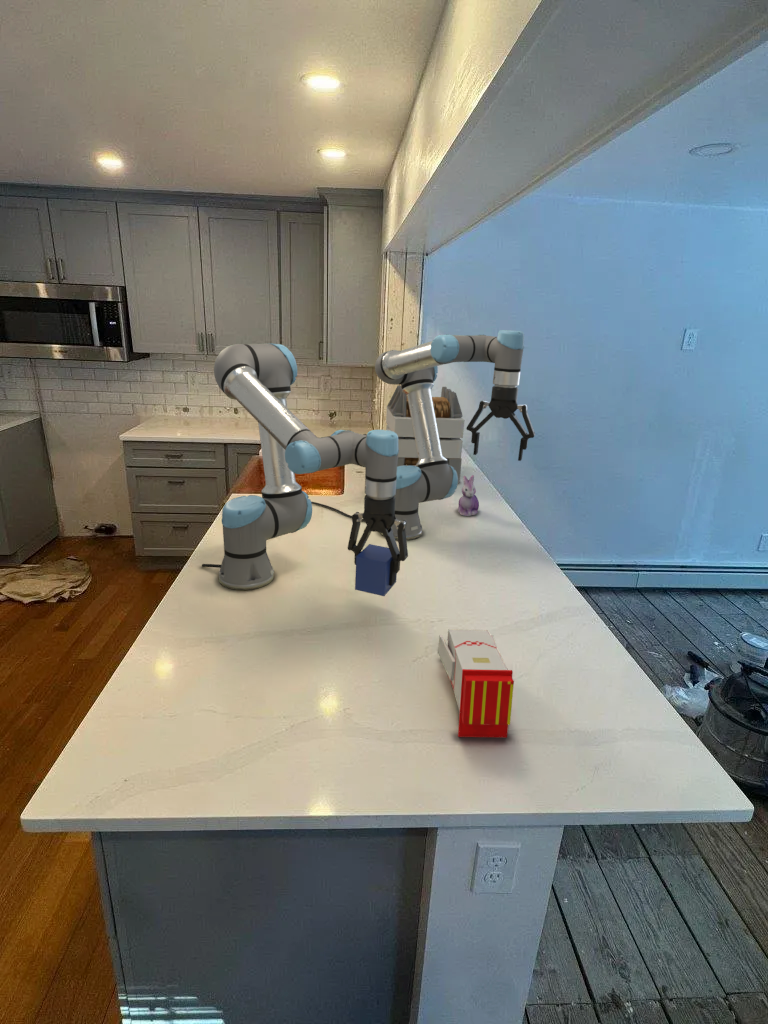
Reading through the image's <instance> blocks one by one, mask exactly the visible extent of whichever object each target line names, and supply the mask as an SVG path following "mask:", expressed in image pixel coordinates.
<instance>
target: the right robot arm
mask: <svg viewBox="0 0 768 1024" xmlns="http://www.w3.org/2000/svg"><path fill="white" fill-rule="evenodd" d="M524 349H525V333H524V332H523V331H522V330H509V329H507V330H506V329H500V330H499V331H498V332H497V336H492V335H486V334H473V335H470V334H467V335H465V334H464V335H462V334H461V335H459V334H449V333H448V334H440V335H436V336H435V337H434V338H433V339H432V341H428V342H424V343H421V344H418V345H415V346H412V347H408V348H404V349H401V350H397V349H391V350H388V351H384V352H382V353H380V355H378V356H377V358H376V360H375V363H374V371H375V374H376V376H377V377H378V379H380V380H381V381H382V382H383V383H385V384H388V385H397V386H398V385H400V386H401V388H402V392H403V393H405V394H406V395H407V398H408V403H409V409H410V414H411V420H412V425H413V431H414V436H415V442H416V447H417V453H418V459H419V461H418V463H417V464H416V466H412V465H408V466H407V465H403V466H398V467H397V478H396V479H397V481H396V494H395V495H394V496H395V498H396V499H395V517H396V519H398V520H401V521H403V520H406V521H407V524H406V528H405V532H406V541H410V540H415V539H418V538H420V537H421V536H422V535H423V525H422V524H421V518H420V515H419V507H420V506H419V505H420V503H426V502H432V501H433V502H434V501H441V500H444V499H448V498H450V497H452V496H453V495H454V494H455V492H456V491H457V488H458V484H459V483H458V476H457V472H456V470H454V468H453V467H452V466H450V465H448V460H447V459H446V458H444V457H443V456H442V451H441V446H440V440H439V435H438V429H437V424H436V418H435V413H434V407H433V402H432V397H433V396H432V391H431V390H432V389H433V387H434V385H435V384H434V383H435V381H436V379H437V377H438V373H439V367H438V366H442V365H448V364H452V363H478V362H479V363H491V364H494V367H493V378H492V384H493V386H492V388H491V395H490V401H486V400H485V399H482V400H481V401H479V405H478V408H477V410H476V412H475V413H474V415H473V417H472V418H471V420H470V422H469V423H468V424H467V426H466V428H465V429H466V430H467V431H469V432H471V441H470V442H471V444H473V453H472V454H473V456H477V455H478V452H479V445H480V444H479V443H480V436H481V435H480V433H481V432H478V431H479V430H480V429H481V428H482V427H484V425H485V424H486V423H488V421H490V420H491V419H492V418H493V417H495V418H496V419H500V418H501V419H505V420H507V419H510V421H511V422H512V423H513V425H514V427H516V429H517V431H518V432H519V434H520V436H522V437H521V438H520V442H519V450H518V458H517V461H519V462H521V461H522V460H523V453H524V451H525V450H527V448H528V445H529V439H534V437H535V436H536V433H535V429H534V427H533V423H532V421H531V418H530V415H529V413H528V404H526V403H524V404H518V397H519V388H518V386H520V380H521V379H520V378H521V369H522V361H523V356H524V355H523V354H524ZM486 408H489V409H490V412H489V413H488V414H486V416H485V417H484V418H483V419H482V420H481V421H480V422H479V423H478V424H477V425H476V426H474V425H475V424H476V423H477V421H478V419H479V417H480V416H481V415H482V413H483V411H484V409H486ZM517 410H518V411H519V412H520V413H521V415H522V418H523V421H524V423H525V427H526V429H527V430H526V429H525V427H524V426H523V424H522V423H521V421H520V420H519V418H518V417H517V416H518V415H516V411H517ZM311 503H312V505H316V506H319V507H320V506H321V507H323V508H327V509H330V510H332V511H335V512H337V513H339V514H341V515H343V516H345V517H348V518H349V519H350V518H351V519H352V514H351V515H350V514H348V513H346V512H343V511H341V510H340V509H337V508H334V507H332V506H330V505H327V504H323V503H319V502H316V501H311ZM361 522H365V521H364V519H363V518H362V521H361ZM391 527H392V530H393V535H394V538H395V541H398V534H397V531H398V529H396V525H395V524H393V525H392V526H391ZM379 534H380V535H381V536H383V533H379Z"/></svg>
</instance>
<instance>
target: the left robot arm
mask: <svg viewBox="0 0 768 1024" xmlns="http://www.w3.org/2000/svg"><path fill="white" fill-rule="evenodd" d="M213 375H214V379H215V382H216V384H217V386H218V388H219V389H220V391H222V392H223V393H224V395H225V396H226V397H228V398H229V399H231V400H233V401H237V402H238V403H239V404H240V405H241V406H242V407H243V408H244V409H245V410H246V412H247V413H249V415H250V416H251V417H252V418H253V419H254V420H255V421H256V422H257V425H258V432H259V440H260V441H259V442H260V448H261V456H262V465H263V474H264V480H265V485H264V487H262V489H261V492H260V493H261V496H260V495H259V496H258V495H255V494H250V495H242V496H237V497H234V498H232V499H230V500H228V501H226V503H225V504H224V505H223V507H222V511H221V524H222V538H223V539H222V541H223V557H222V561H221V564H218V563H217V564H216V563H202V564H201V567H202V568H218V569H219V571H218V581H219V583H220V584H221V585H222V586H223V587H224V588H228V589H231V590H236V591H237V590H238V591H249V590H255V589H259V588H263V587H265V586H267V585H269V584H270V583H271V582H272V581H273V580H274V577H275V573H274V572H275V570H274V567H273V566H272V563H271V560H270V557H269V554H268V552H267V541H268V540H271V539H275V538H279V537H282V536H285V535H288V534H294V533H296V532H298V531H301V530H303V529H305V528H306V527H307V526H308V524H309V523H310V522H311V519H312V517H313V504H312V503H311V502H312V500H311V499H310V498H309V497H310V496H309V494H307V493H306V492H305V491H304V490H302V489H303V488H302V485H301V484H299V483H298V482H297V481H296V475H304V474H305V475H306V474H314V473H317V472H320V471H325V470H329V469H334V468H339V467H342V466H348V465H355V466H359V467H361V468H365V473H364V475H365V476H364V480H365V481H364V494H365V495H364V498H363V499H364V500H363V512H359V511H356V512H355V513H353V514H351V516H352V518H351V522H352V523H351V530H350V533H349V538H348V544H347V550H348V551H350V552H352V553H353V554H354V559H353V560H354V561H353V562H354V565H355V566H356V556H357V555H358V554H359V553H360V552H361V551H363V550H364V548H365V546H366V545H365V544H366V543H367V541H368V539H369V538H370V535H371V534H372V532H373V533H376V532H378V533H379V534H380V533H383V535H382V537H383V538H385V541H386V544H387V548H389V550H390V552H391V555H392V558H393V559H392V560H391V562H390V576H389V585H390V586H392V585H393V584H394V583H395V579H396V580H397V578H396V573H397V574H398V573H399V572H400V570H401V562H404V561H405V560H406V559H408V557H409V551H408V543H407V542H408V540H406V532H405V528H406V524H407V521H406V520H403V521H401V520H398V519H396V517H395V499H396V498H395V496H394V495H395V494H396V481H397V479H396V478H397V462H398V453H399V449H398V435H397V434H396V433H395V432H393V431H389V430H386V429H372V430H369V431H367V433H366V434H367V436H366V435H363V434H362V433H358V432H354V431H352V430H346V429H345V430H344V429H338V430H335V431H334V432H333V433H331V434H330V435H328V436H322V437H318V436H316V435H315V433H314V432H313V431H312V430H311V429H309V428H308V427H307V425H305V424H304V423H303V422H302V420H300V419H299V418H298V417H297V416H296V415H295V414H294V413H293V412H292V411H291V410H290V409H289V408H288V403H287V402H288V401H287V399H288V396H289V395H290V394H291V393H292V389H291V386H292V385H293V384H294V383H295V382H296V380H297V379H296V378H297V377H298V365H297V361H296V358H295V355H294V354H293V353H292V351H290V349H289V348H288V347H287V346H285V345H284V344H280V343H272V342H270V343H269V342H267V343H235V344H231V345H228V346H226V347H224V348H223V349H222V350H221V351H220V352H219V354H218V355H217V356H216V358H215V360H214V364H213ZM362 519H364V521H362ZM362 522H364V523H365V524H366V526H365V528H364V530H363V533H362V535H361V537H360V538H359V541H358V537H359V531H360V529H361V528H360V527H361V523H362ZM393 524H395V525H396V529H398V531H397V534H398V540H395V538H394V535H393V530H392V527H391V526H392V525H393ZM397 542H398V543H397ZM395 584H396V583H395ZM395 584H394V585H395ZM394 585H393V586H394Z"/></svg>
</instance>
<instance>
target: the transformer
mask: <svg viewBox="0 0 768 1024" xmlns="http://www.w3.org/2000/svg"><path fill="white" fill-rule="evenodd" d="M440 393H441V394H440V396H432V402H433V407H434V413H435V418H436V424H437V429H438V435H439V440H440V446H441V451H442V456H443V457H444V458H446V459H447V460H448V465H450V466H452V467H453V468H454V470H456V472H457V476H458V484H459V483H461V472H462V461H463V460H462V453H463V442H464V441H463V440H462V439H463V438H464V431H465V430H464V429H465V419H464V418H463V411H462V408H461V405H460V402H459V398H458V395H457V392H455V391H453V390H452V389H451V388H447V386H442V387H441V392H440ZM385 414H386V415H385V423H386V428H385V430H389V431H393V432H395V433H396V434H397V435H398V449H399V453H398V462H397V467H398V466H403V465H406V466H408V465H412V466H416V464H417V463H418V461H419V459H418V453H417V447H416V442H415V436H414V431H413V425H412V420H411V414H410V409H409V403H408V398H407V395H406V394H405V393H403V392H402V388H401V385H399V384H398V385H397V386H396V388H395V390H394V392H393V394H392V395H391V398H390V400H389V402H388V404H387V405H386V413H385Z"/></svg>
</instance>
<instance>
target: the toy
mask: <svg viewBox="0 0 768 1024" xmlns="http://www.w3.org/2000/svg"><path fill="white" fill-rule="evenodd" d="M446 640H447V643H446V641H445V639H444V636H443V635H442V634H439V637H438V646H437V656H438V657H439V659H440V661H441V663H442V666H443V668H444V670H445V672H446V674H447V677H448V679H449V681H450V684H451V687H452V690H453V693H454V697H455V701H456V705H457V708H458V711H459V714H458V715H459V716H458V730H457V731H458V732H457V737H458V738H508V731H509V726H510V725H511V717H512V707H513V697H514V696H513V695H514V684H515V680H514V679H513V673H514V671H513V670H512V669H508V667H507V665H506V662H505V661H504V659H503V658H502V655H501V653H500V651H499V649H498V647H497V643H496V639H495V637H494V635H493V634H491V632H490V631H489V629H467V628H466V629H465V628H463V629H461V628H460V629H459V628H448V630H447V639H446Z"/></svg>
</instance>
